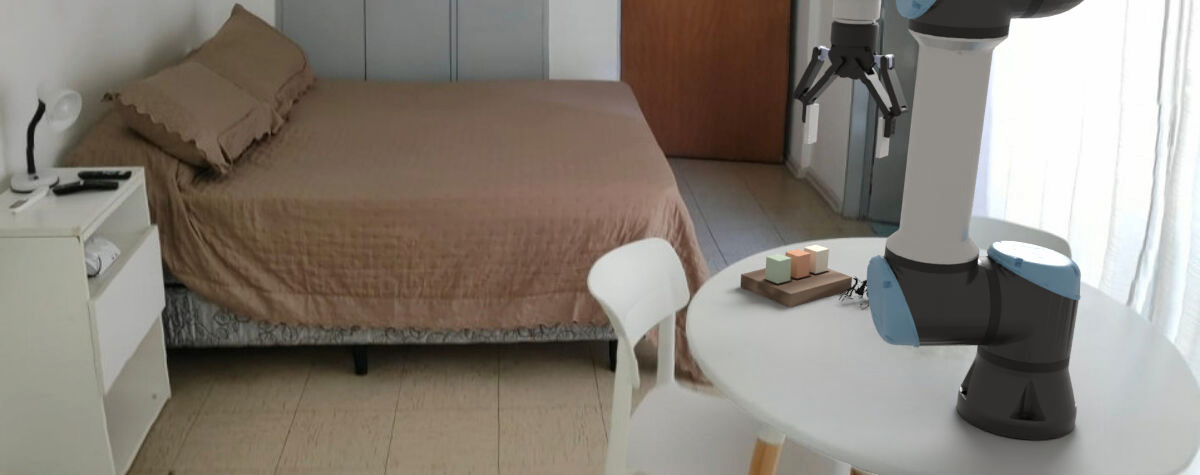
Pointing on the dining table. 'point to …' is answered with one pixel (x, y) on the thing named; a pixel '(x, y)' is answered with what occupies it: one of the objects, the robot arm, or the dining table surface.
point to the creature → (858, 291)
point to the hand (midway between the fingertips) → (845, 149)
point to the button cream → (817, 258)
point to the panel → (797, 286)
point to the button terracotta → (799, 263)
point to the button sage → (778, 268)
